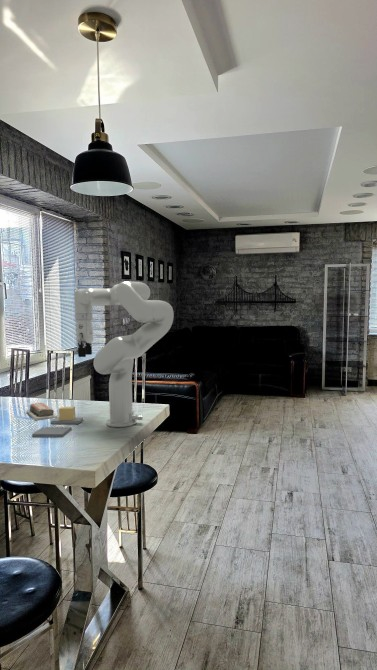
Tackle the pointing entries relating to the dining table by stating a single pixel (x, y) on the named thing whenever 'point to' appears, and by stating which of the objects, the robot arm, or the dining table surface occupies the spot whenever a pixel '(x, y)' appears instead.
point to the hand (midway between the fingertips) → (85, 355)
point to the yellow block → (67, 416)
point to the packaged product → (40, 412)
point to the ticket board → (52, 432)
